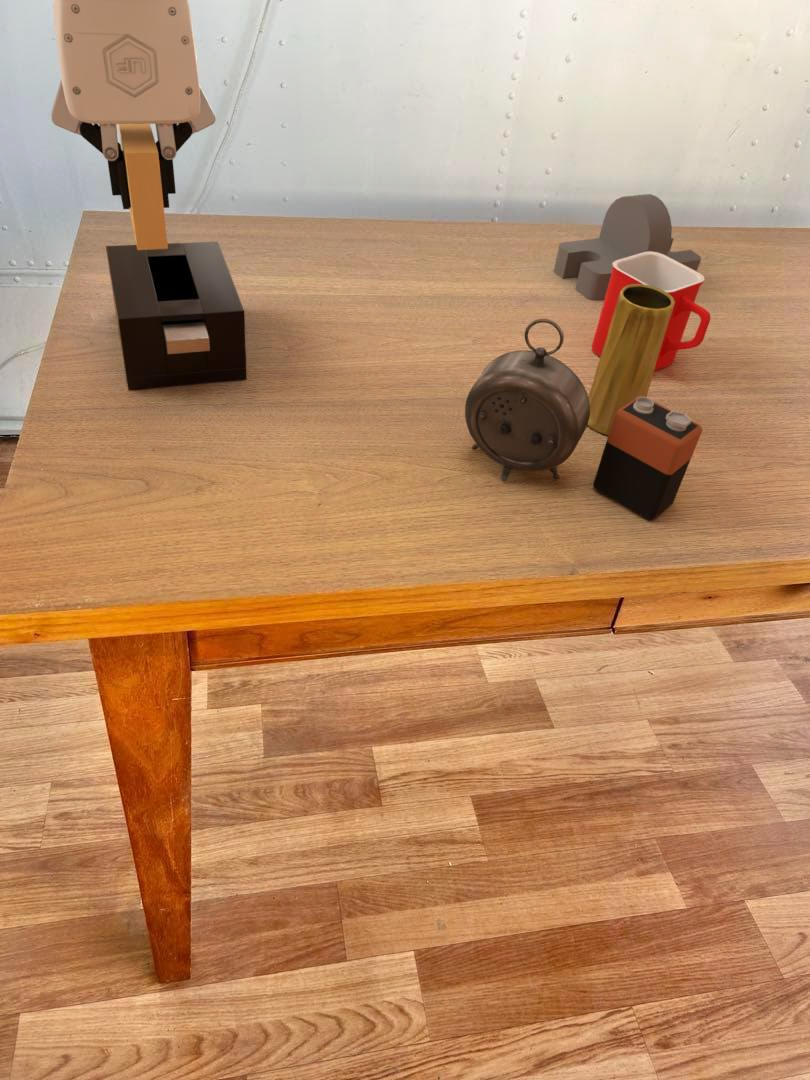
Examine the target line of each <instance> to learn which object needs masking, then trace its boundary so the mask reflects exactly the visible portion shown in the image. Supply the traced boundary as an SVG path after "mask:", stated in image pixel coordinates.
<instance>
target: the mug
mask: <svg viewBox="0 0 810 1080" xmlns="http://www.w3.org/2000/svg"><path fill="white" fill-rule="evenodd" d="M705 280H706V277H705V276H704V275H703V274H702V273H700V272H698V270H697V271H695V270H693V269H691V268H689V267H687V266H685V265H683V264H681V263H679V262H677V261H675V260H673V259H671V258H670V257H668V256H666V255H663V254H661V253H658V252H651V251H649V252H643V253H639V254H636V255H633V256H629V257H626V258H623V259H619V260H616V261H614V262H613V263H612V274H611V278H610V282H609V285H608V289H607V293H606V296H605V299H603V304H602V307H601V310H600V315H599V319H598V322H597V325H596V329H595V333H594V336H593V340H592V343H591V351H592V352H593V353H594V354H595V355H597V356H598V357H599V358H600V357H601V354H602V351H603V348H604V345H605V342H606V339H607V335H608V331H609V327H610V324H611V321H612V317H613V314H614V311H615V307H616V304H617V301H618V297H619V294H620V292H621V290H622V289H623V288H624V287H625V286H628V285H632V284H644V285H650V286H653V287H656V288H659V289H662V290H663V291H665V292H667V293H668V294H670V295H671V296H672V297H673V299H674V302H675V303H674V307H673V310H672V314H671V317H670V320H669V323H668V326H667V329H666V332H665V335H664V338H663V342H662V345H661V348H660V351H659V355H658V358H657V362H656V365H655V369H654V372H657V371H658V370H661V369H663V368H666V367H669V366H671V365H672V364H673V363H674V361H675V358H676V355H677V352H678V351H683V350H690V349H693V348H696V347H699V346H700V345H701V344H702V343H703V341H704V339H705V337H706V336H705V335H706V333H707V331H708V328H709V325H710V322H711V314H710V312H709V311H708V310H707V308H704V307H702V306H700V305H699V304H697V303H696V298H697V296H698V293H699V291H700V288H701V286H702V285H703V283H704V282H705ZM691 313H694V314H696V315H698V317H699V318H700V321H699V324H698V327H697V330H696V332H695V335H694V336H693V338H692V339H691V340H686V341H682V339H683V336H684V332H685V330H686V327H687V325H688V322H689V319H690V316H691Z"/></svg>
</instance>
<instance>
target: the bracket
mask: <svg viewBox="0 0 810 1080" xmlns="http://www.w3.org/2000/svg"><path fill="white" fill-rule="evenodd" d="M671 220H672V219H671V215H670V213H669V210H668V208H667V206H666V204H665V203H664V202H663V200H662V199H660V198H659V197H658V196H656V195H654V194H651V193H647V194H646V193H645V194H635V195H625V196H621V197H618V198H616V199H615V200H614V201H613V202H612V203H611V204H610V206H609V207H608V209H607V210H606V213H605V215H604V217H603V221H602V226H601V229H600V232H599V236H598V237H595V238H587V239H580V240H572V241H563V242H560V243H558V244H559V245H558V249H557V253H556V257H555V262H554V267H553V272H554V273H555V274H556V275H557V276H558V277H560V278H561V279H569V278H576V277H577V280H576V283H575V290H576V291H577V292H579V293H580V294H581V295H582V296H584V297H585V298H586V299H587V300H592V301H600V300H605V296H606V293H607V289H608V285H609V282H610V278H611V274H612V263H613V262H614V261H616V260H619V259H623V258H626V257H629V256H633V255H636V254H639V253H643V252H649V251H651V252H658V253H661V254H663V255H666V256H668V257H670V258H671V259H673V260H675V261H677V262H679V263H681V264H683V265H685V266H687V267H689V268H691V269H693V270H695V271H697V272H698V269H699V266H700V263H701V262H702V261H701V260H702V256H701V255H699V254H698V253H697V252H695V251H693V250H692V249H686V250H679V251H671V249H672V245H673V243H674V238H673V237H672V231H673V229H672V228H673V227H672V221H671Z"/></svg>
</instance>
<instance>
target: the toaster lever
mask: <svg viewBox="0 0 810 1080" xmlns="http://www.w3.org/2000/svg"><path fill="white" fill-rule="evenodd" d="M163 333H164V340H165V345H166V349H167V353H168V354H176V353H189V352H202V351H210V342H209V335H208V332H207V329H206V326H205V323H204V322H199V323H185V324H170V325H163Z"/></svg>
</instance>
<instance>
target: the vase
mask: <svg viewBox="0 0 810 1080" xmlns="http://www.w3.org/2000/svg"><path fill="white" fill-rule="evenodd" d="M674 303H675V302H674V299H673V297H672V296H671V295H670V294H668V293H667V292H665V291H663V290H662V289H659V288H656V287H653V286H650V285H644V284H632V285H628V286H625V287H624V288H623V289H622V290H621V292H620V294H619V297H618V301H617V304H616V307H615V311H614V314H613V317H612V321H611V324H610V327H609V331H608V335H607V339H606V342H605V345H604V348H603V351H602V354H601V357H600V356H599V361H598V363H597V366H596V370H595V373H594V376H593V380H592V384H591V388H590V391H589V393H588V398H589V404H590V416H589V421H588V424H587V426H588V427H589V428H590V429H592V430H593V431H595V432H597V433H599V434H603V435H605V436H608V435H609V432H610V429H611V426H612V422H613V419H614V416H615V413H616V411H617V410H619V409H620V408H621V407H623V406H624V405H626V404H627V403H629V402H630V401H632V400H633V399H635V398H636V397H638V396H643V397H646V398H648V394H649V390H650V386H651V382H652V379H653V376H654V372H655V371H654V369H655V365H656V362H657V358H658V355H659V351H660V348H661V345H662V342H663V338H664V335H665V332H666V329H667V326H668V323H669V320H670V317H671V314H672V310H673V307H674Z"/></svg>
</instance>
